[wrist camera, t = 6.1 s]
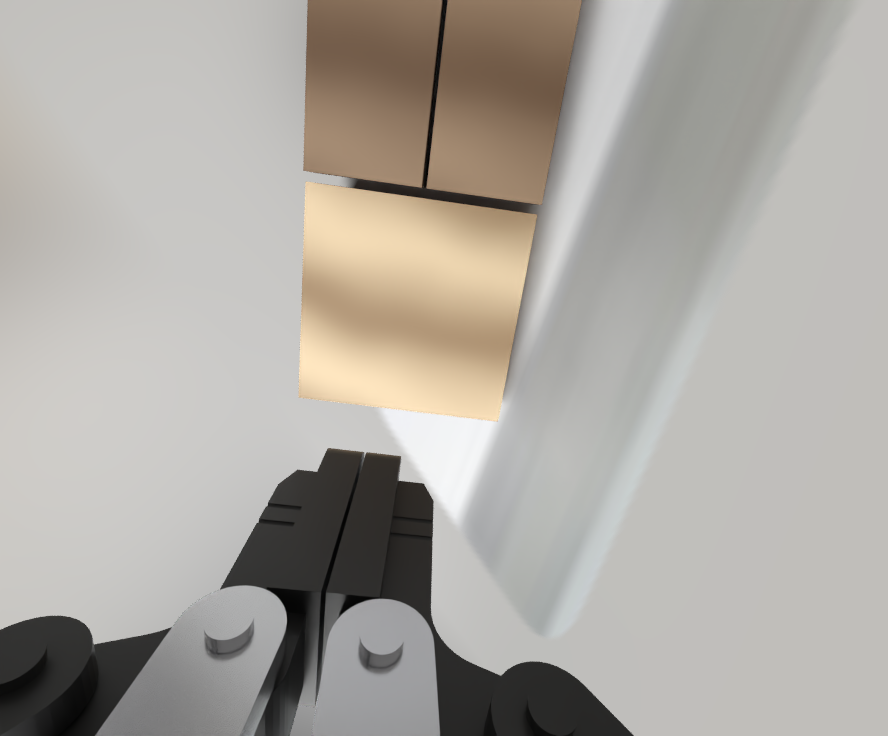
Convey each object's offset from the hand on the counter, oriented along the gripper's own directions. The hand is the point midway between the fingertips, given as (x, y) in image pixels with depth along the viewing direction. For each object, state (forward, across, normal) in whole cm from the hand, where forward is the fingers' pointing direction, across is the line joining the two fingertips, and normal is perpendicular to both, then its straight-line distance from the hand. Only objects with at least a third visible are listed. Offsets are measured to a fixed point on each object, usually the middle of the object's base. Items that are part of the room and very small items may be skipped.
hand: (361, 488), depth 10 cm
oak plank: (+13, 0, -1) cm, 13 cm away
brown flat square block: (+14, 0, -11) cm, 18 cm away
